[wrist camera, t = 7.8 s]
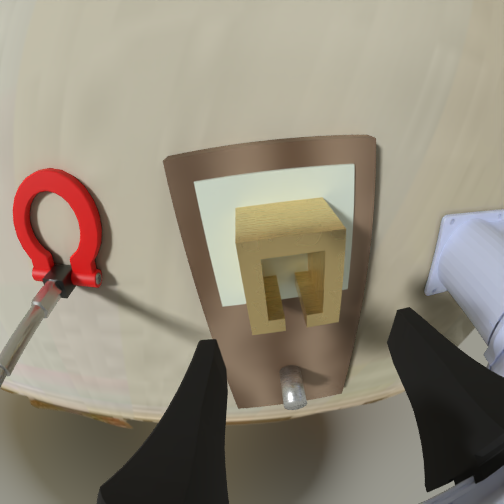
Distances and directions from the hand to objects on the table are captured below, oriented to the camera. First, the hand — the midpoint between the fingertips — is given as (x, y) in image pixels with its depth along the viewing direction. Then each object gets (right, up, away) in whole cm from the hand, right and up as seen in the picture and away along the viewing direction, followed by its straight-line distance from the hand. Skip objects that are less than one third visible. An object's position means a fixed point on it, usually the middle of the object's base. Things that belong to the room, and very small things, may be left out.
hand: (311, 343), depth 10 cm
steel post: (+1, -8, +14) cm, 16 cm away
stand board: (0, -2, +12) cm, 12 cm away
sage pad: (0, +4, +7) cm, 8 cm away
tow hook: (-17, +5, +7) cm, 19 cm away
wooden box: (0, +4, +7) cm, 8 cm away
